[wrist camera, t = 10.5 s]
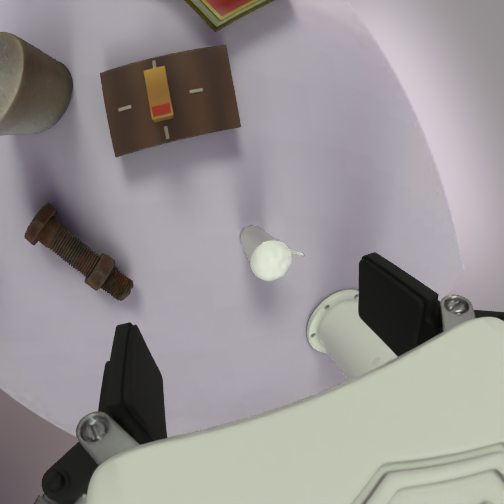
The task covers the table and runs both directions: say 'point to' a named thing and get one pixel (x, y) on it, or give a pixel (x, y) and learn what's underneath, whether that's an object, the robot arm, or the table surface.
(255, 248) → the milkshake
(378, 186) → the table surface
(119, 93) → the lock plate
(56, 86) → the pillar candle
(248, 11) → the hardcover book
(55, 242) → the bolt
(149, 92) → the thumbturn
